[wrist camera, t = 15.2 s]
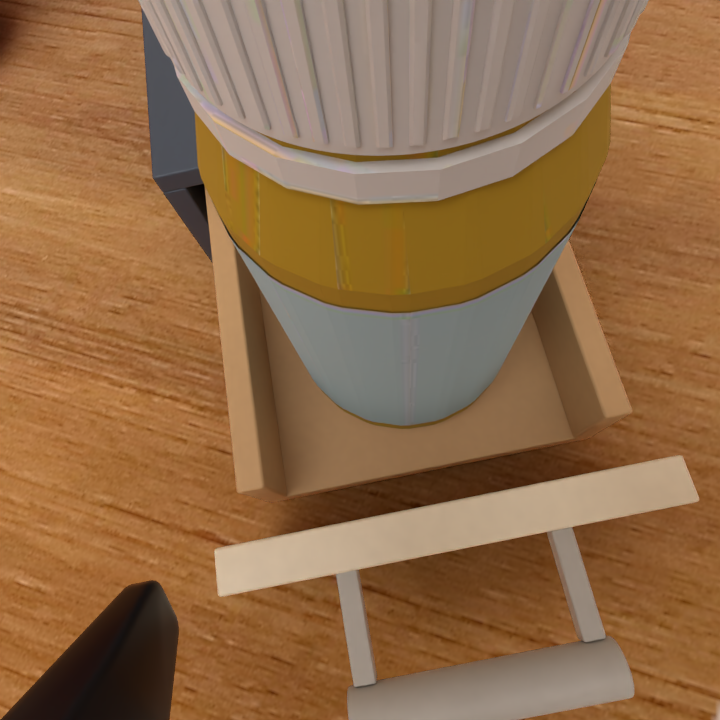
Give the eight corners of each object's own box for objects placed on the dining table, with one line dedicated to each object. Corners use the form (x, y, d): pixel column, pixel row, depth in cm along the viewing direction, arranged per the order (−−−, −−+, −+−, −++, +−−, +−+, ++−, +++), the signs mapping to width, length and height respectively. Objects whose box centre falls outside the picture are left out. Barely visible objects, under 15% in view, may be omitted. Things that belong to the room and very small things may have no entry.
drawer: (683, 654, 16) (777, 692, 12) (278, 732, 16) (234, 796, 12) (502, 137, 22) (522, 48, 18) (217, 199, 23) (175, 124, 19)
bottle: (294, 266, 20) (21, -398, 6) (478, 233, 20) (653, -540, 6) (318, 448, 18) (-45, 73, 4) (526, 413, 17) (1028, -139, 3)
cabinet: (531, 204, 22) (574, 86, 17) (217, 270, 23) (151, 177, 17) (439, -56, 28) (446, -212, 22) (188, 0, 28) (131, -139, 22)
